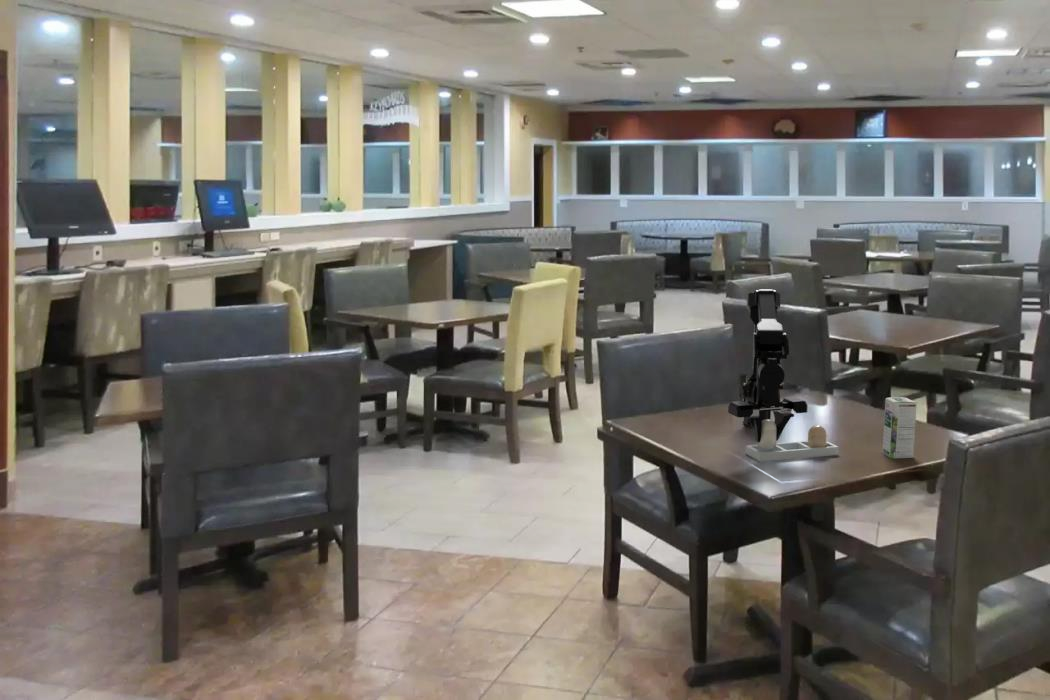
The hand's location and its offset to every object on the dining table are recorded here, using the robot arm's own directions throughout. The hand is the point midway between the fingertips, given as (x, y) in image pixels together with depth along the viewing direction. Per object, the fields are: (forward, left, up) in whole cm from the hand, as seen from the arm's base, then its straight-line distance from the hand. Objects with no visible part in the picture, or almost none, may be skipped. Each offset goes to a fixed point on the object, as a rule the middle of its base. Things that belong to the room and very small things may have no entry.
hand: (767, 441), depth 256 cm
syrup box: (-31, +8, -4) cm, 33 cm away
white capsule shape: (0, 0, -1) cm, 1 cm away
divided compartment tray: (-7, 0, -4) cm, 8 cm away
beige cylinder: (-14, 0, -4) cm, 14 cm away
